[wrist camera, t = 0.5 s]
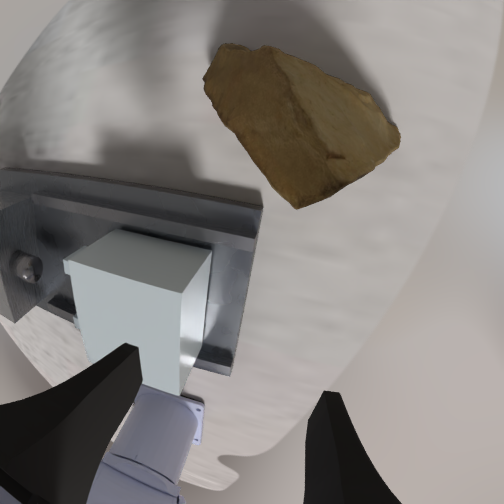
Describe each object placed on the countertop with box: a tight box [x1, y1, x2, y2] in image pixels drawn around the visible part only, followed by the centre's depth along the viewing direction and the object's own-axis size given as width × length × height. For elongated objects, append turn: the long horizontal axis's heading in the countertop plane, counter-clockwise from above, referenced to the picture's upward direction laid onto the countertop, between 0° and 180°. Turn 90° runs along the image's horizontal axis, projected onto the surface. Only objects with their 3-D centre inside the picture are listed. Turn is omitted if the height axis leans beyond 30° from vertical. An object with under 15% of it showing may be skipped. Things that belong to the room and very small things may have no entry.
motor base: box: [0, 168, 263, 376], centre depth 19 cm, size 14×25×6 cm, turn 80°
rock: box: [203, 43, 401, 209], centre depth 12 cm, size 11×9×10 cm
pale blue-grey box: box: [63, 229, 212, 396], centre depth 18 cm, size 10×9×5 cm
